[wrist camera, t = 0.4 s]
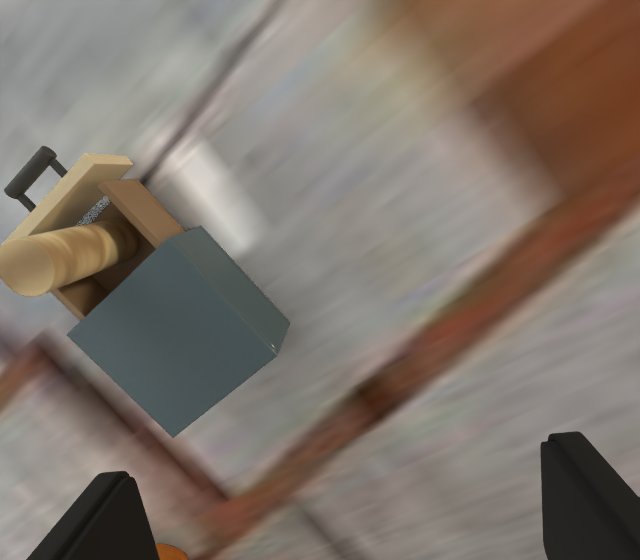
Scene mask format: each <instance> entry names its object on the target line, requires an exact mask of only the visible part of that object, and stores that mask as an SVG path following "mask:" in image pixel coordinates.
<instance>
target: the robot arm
mask: <svg viewBox="0 0 640 560" xmlns="http://www.w3.org/2000/svg"><path fill="white" fill-rule="evenodd" d="M541 479H542V513H543V542H544V548H545V552H546V555H547V558H548V560H640V497H638V496H637V495H636V494H635V493H634V492H633V490H632V489H631V488H630V487H629V486H628V485H627V484H626V483H625V481H624V480H623V479H622V478H621V477H620V476H619V475H618V474H617V472H616V471H615V470H614V469H613V468H612V467H611V466H610V465H609V463H608V462H607V461H606V460H605V459H604V458H603V457H602V456H601V454H600V453H599V452H598V451H597V450H596V449H595V448H594V447H593V445H592V444H591V443H590V442H589V441H588V440H587V439H586V437H585V436H584V435H583V434H581V433H580V432H566V433H555V434H550V435H549V437H548V441H546V442H542V443H541ZM26 560H160V558H159V554H158V551H157V548H156V545H155V541H154V538H153V535H152V532H151V529H150V525H149V522H148V519H147V516H146V512H145V509H144V506H143V503H142V499H141V496H140V493H139V490H138V486H137V483H136V481H135V479H134V478H133V477H130V476H129V474H128V473H127V472H126V471H117V472H105V473H101V474H98V475H97V476H96V477H95V478H94V480H93V481H92V482H91V483H90V484H89V485H88V487H87V488H86V489H85V490H84V491H83V493H82V494H81V495H80V496H79V497H78V499H77V500H76V501H75V502H74V503H73V505H72V506H71V507H70V508H69V509H68V511H67V512H66V513H65V514H64V515H63V517H62V518H61V519H60V520H59V521H58V522H57V524H56V525H55V526H54V527H53V528H52V530H51V531H50V532H49V533H48V534H47V536H46V537H45V538H44V539H43V540H42V542H41V543H40V544H39V545H38V546H37V548H36V549H35V550H34V551H33V552H32V554H31V555H30V556H29V557H28V558H27V559H26Z"/></svg>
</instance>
